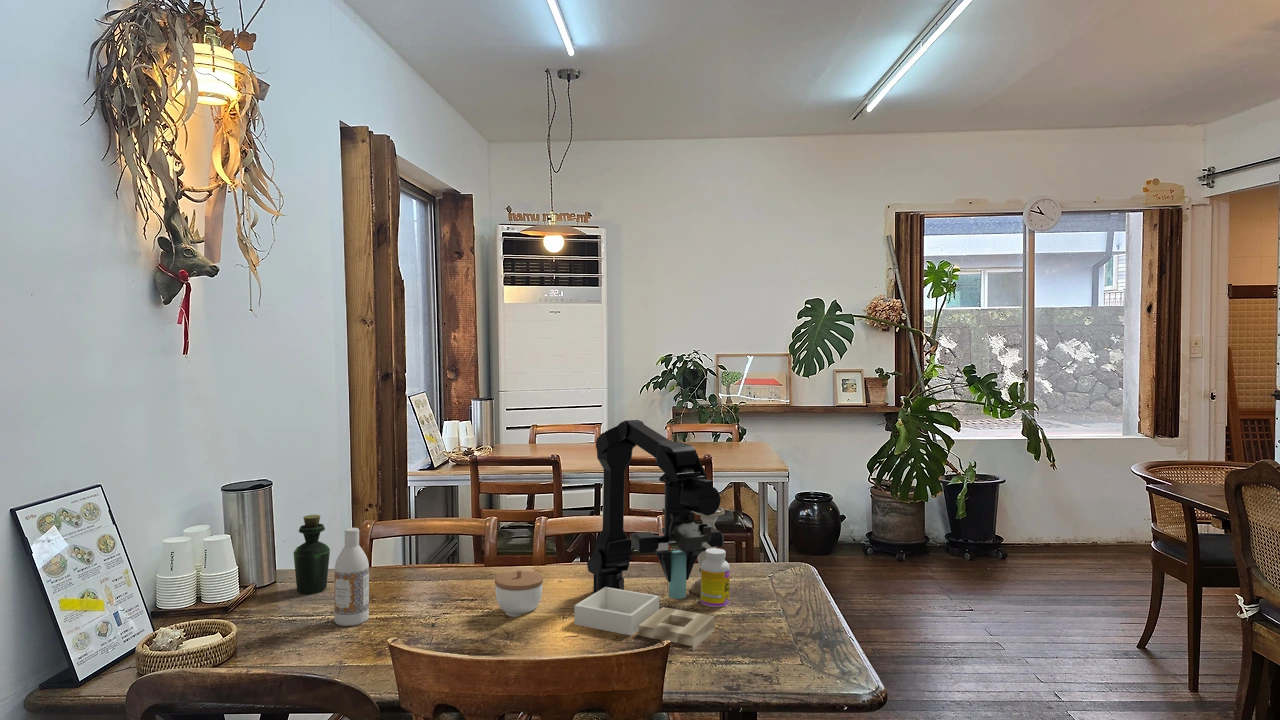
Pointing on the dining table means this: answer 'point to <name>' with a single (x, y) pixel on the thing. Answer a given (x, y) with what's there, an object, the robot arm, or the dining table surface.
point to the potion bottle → (311, 558)
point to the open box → (616, 610)
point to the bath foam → (351, 582)
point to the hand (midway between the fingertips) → (677, 580)
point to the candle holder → (705, 545)
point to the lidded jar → (518, 592)
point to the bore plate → (689, 634)
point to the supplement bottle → (715, 578)
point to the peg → (678, 575)
